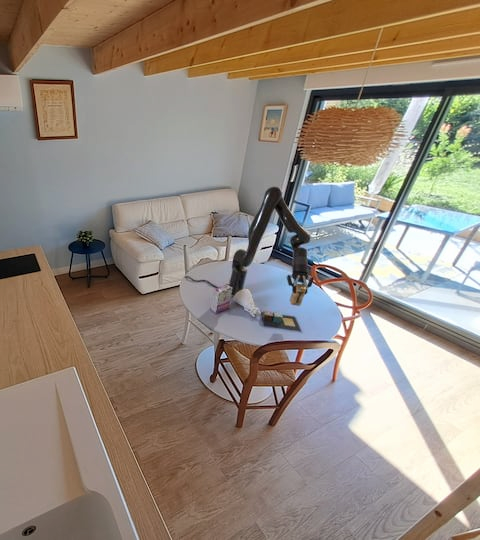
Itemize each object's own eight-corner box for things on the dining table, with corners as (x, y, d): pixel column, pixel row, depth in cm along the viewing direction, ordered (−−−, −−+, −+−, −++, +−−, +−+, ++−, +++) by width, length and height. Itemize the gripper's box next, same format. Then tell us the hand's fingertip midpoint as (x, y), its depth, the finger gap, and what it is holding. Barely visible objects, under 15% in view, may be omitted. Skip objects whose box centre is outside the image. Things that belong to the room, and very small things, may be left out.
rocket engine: (263, 306, 171) (246, 286, 184) (246, 317, 174) (231, 296, 187) (268, 314, 178) (251, 293, 191) (252, 324, 181) (236, 303, 194)
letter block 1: (263, 320, 174) (264, 314, 172) (261, 316, 178) (263, 310, 176) (271, 321, 173) (273, 315, 171) (269, 317, 177) (271, 311, 175)
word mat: (264, 326, 170) (264, 326, 170) (260, 312, 182) (260, 311, 181) (301, 332, 165) (301, 331, 165) (294, 317, 177) (294, 316, 177)
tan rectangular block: (291, 305, 166) (297, 287, 160) (289, 300, 170) (295, 283, 164) (300, 306, 165) (306, 288, 159) (297, 301, 169) (304, 284, 163)
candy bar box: (223, 304, 189) (227, 284, 181) (228, 308, 185) (233, 287, 177) (210, 309, 185) (214, 288, 177) (215, 313, 181) (220, 292, 173)
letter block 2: (272, 322, 173) (274, 316, 171) (271, 317, 177) (273, 311, 174) (280, 323, 172) (283, 317, 170) (279, 318, 176) (281, 312, 173)
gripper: (310, 268, 168) (310, 296, 164) (284, 265, 171) (283, 293, 167) (316, 264, 161) (316, 294, 157) (289, 262, 164) (288, 290, 160)
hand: (299, 293), depth 162 cm, fingers closed on tan rectangular block, 4 cm apart
